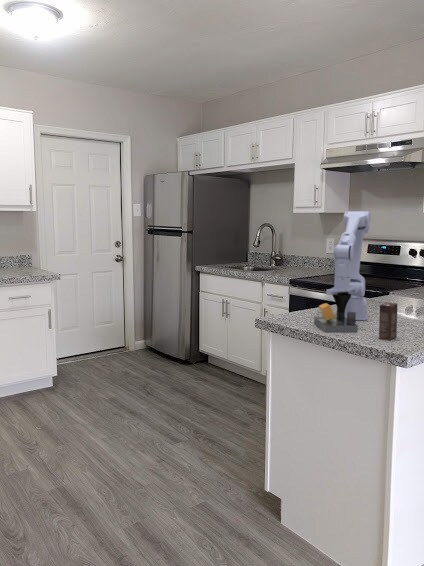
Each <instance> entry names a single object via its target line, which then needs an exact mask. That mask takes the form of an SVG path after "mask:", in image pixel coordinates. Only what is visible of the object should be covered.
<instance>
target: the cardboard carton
mask: <svg viewBox="0 0 424 566" xmlns="http://www.w3.org/2000/svg"><path fill="white" fill-rule="evenodd" d="M318 309H319V310H320V313H321V315H322V317H323V318H324V319H326V320H329V321H330V322H333V320H332V318H334V317H335V314H334V312H333V309H332V306H331V305H330V304H328V303H327V302H325V303H322V304H320V305H318Z"/></svg>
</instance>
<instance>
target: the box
mask: <svg viewBox="0 0 424 566" xmlns="http://www.w3.org/2000/svg"><path fill="white" fill-rule="evenodd" d="M378 323H379V326H378V327H379V328H378V332H379V333H378V339H380V340H385V341H386V340H387V341H392V340H393V339H395V338H397V334H398V332H397V331H398V303H396V302H395V303H394V302H384V303H382V304H380V305H379V321H378Z"/></svg>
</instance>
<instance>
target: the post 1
mask: <svg viewBox="0 0 424 566" xmlns="http://www.w3.org/2000/svg"><path fill="white" fill-rule="evenodd" d="M336 317H337V318H340V319H343V318H345V312H344V313H340V312H338V310H337V309H336Z"/></svg>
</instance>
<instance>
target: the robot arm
mask: <svg viewBox="0 0 424 566" xmlns="http://www.w3.org/2000/svg"><path fill="white" fill-rule="evenodd" d="M342 222H343V226H344V229H345V231H344V232H342V233H341V236H340V238H339V241H338V243H337V245H335V246H334V247H333V261H334V262H333V263H334V286H333V287H331V288H329V289H326V291H325V293H326V294H325V295H327V296H332V297H333V300H334V301H335V306H336V311H337V310H338V312H340V313H344V312H345V318H347V312H355V313H356V321H367V320H368V319H367V309H368V303H367V302H368V301H367V299H366V297H364V296H365V292H366V279H365V277H364V276H362V274H360V269H361V259H362V257H361V256H362V250H363V249H362V248H363V241H364V237H365V235H366V234H368V233H369V231H370V225H371V212H370V211H369V210H366V211H365V210H364V211H363V210H362V211H359V210H357V211H356V210H355V211H354V210H352V211H351V210H345V212H344V213H343V221H342Z"/></svg>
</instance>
